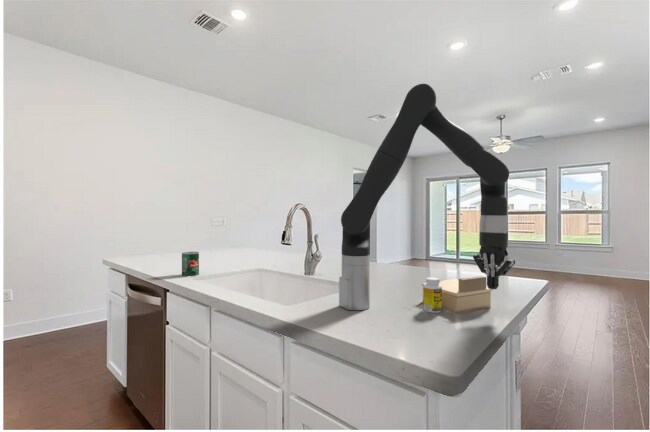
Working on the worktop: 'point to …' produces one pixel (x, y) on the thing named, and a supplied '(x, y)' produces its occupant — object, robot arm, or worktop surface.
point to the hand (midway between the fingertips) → (492, 288)
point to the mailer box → (465, 302)
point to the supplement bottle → (432, 295)
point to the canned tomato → (190, 263)
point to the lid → (464, 286)
